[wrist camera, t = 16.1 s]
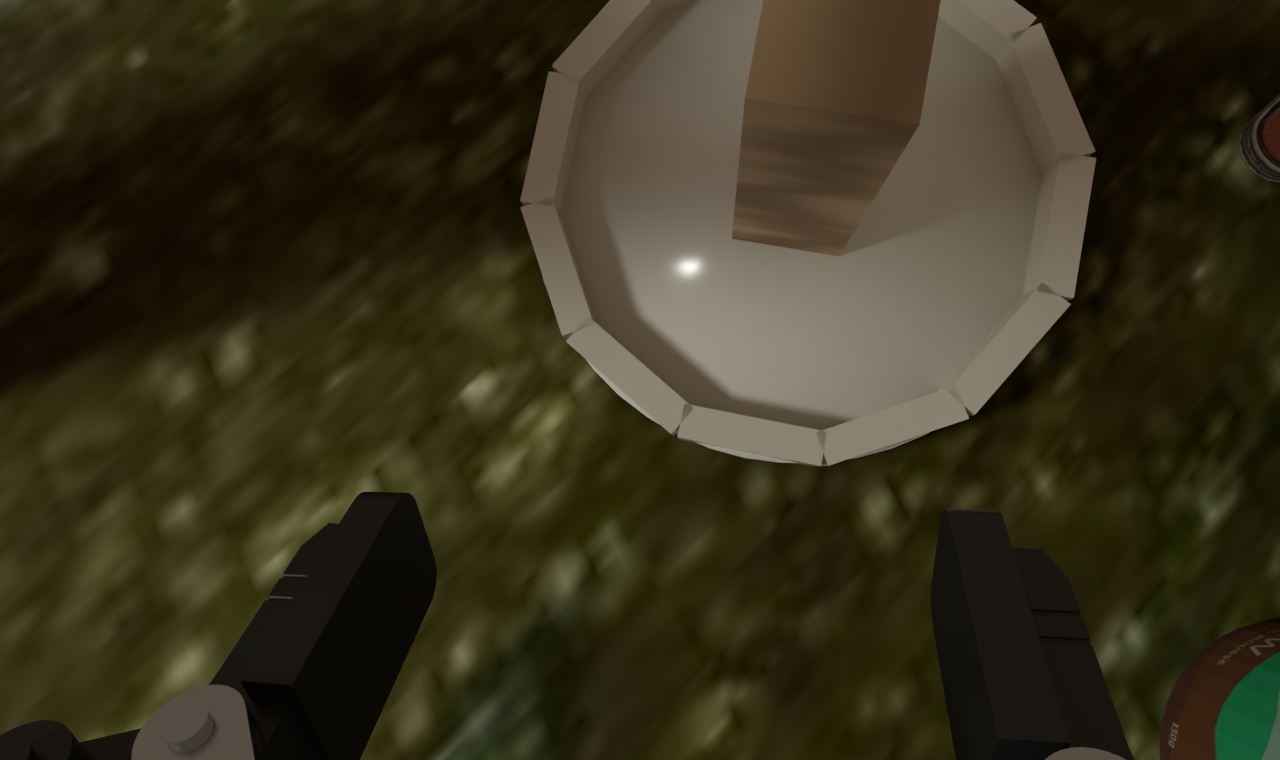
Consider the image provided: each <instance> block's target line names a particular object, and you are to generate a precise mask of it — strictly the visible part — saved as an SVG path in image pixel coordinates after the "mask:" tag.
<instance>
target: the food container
mask: <svg viewBox="0 0 1280 760" xmlns="http://www.w3.org/2000/svg"><path fill="white" fill-rule="evenodd" d="M1159 746H1160V760H1280V621H1273V622H1260V623H1256V624H1253V625H1249V626H1246V627H1242V628H1239V629H1236V630H1234V631H1232V632H1230V633H1228V634H1226V635H1224V636H1222V637H1220V638H1218V639H1217V640H1215V641H1214V642H1213V643H1211V644H1210V645H1209V646H1207V647H1206V648H1204V649H1203V650H1202V651H1201V652H1200V653H1199V654H1198V655H1197V656H1196V657H1195V658H1194V659H1193V660H1192V661H1191V662H1190V663H1189V664H1188V665H1187V667H1186V668H1185V670H1184V671H1183V673H1182V674H1181V676H1180V677H1179V679H1178V680H1177V681H1176V683H1175V685H1174V688H1173V690H1172V692H1171V694H1170V697H1169V699H1168V701H1167V704H1166V708H1165V712H1164V716H1163V719H1162V724H1161V734H1160V745H1159Z"/></svg>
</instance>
